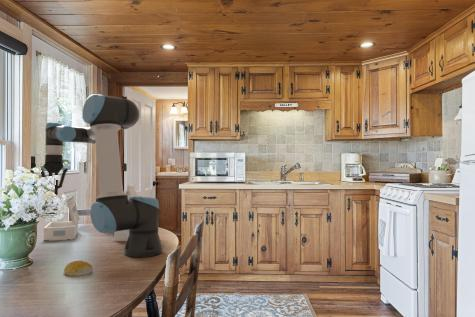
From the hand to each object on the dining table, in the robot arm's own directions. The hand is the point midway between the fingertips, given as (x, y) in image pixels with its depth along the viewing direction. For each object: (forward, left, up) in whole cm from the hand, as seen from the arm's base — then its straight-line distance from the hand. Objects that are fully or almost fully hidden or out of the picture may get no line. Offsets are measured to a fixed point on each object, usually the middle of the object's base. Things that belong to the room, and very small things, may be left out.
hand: (52, 202), depth 175 cm
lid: (+4, -8, -4) cm, 9 cm away
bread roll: (-47, -46, -17) cm, 68 cm away
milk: (+6, -38, -17) cm, 42 cm away
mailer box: (+2, -4, -17) cm, 17 cm away
